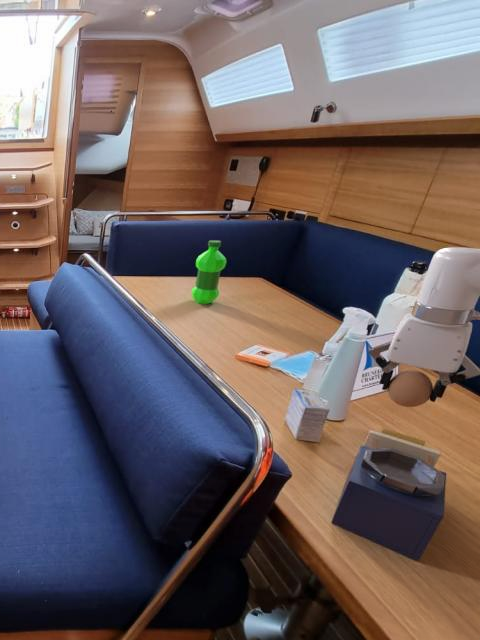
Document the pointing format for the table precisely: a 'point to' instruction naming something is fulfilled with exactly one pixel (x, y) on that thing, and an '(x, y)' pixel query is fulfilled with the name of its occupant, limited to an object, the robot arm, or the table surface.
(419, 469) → the dark gray octagonal tray
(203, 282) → the plastic bottle
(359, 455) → the navy box with tray
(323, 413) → the medicine box
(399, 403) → the egg
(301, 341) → the table surface
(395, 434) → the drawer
